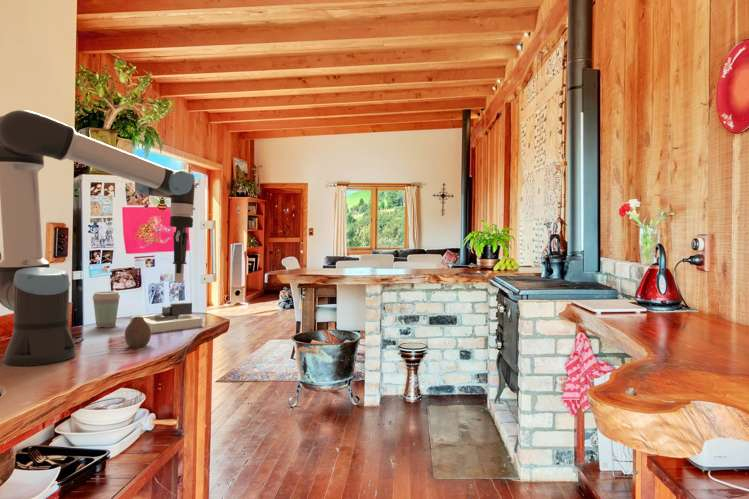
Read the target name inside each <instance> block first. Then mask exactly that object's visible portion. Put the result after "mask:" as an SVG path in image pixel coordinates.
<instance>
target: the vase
mask: <svg viewBox="0 0 749 499" xmlns="http://www.w3.org/2000/svg"><path fill="white" fill-rule="evenodd" d="M133 317H134V318H133V320H132V321H131V323H130V322H129V323H128V325H127V327H126V328H125V331H124V341H125V343H126V345H127V346H128V347H129V348H131V349H140V348H141V349H142V348H144V347H146V346H147V345H148V344H149V343H150V340H151V336H152V333H151V330H150V327H149V325H148V324H147V323H146V322H145V321H144V319H143V317H135V316H133Z"/></svg>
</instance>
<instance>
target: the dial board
mask: <svg viewBox="0 0 749 499" xmlns="http://www.w3.org/2000/svg"><path fill="white" fill-rule="evenodd" d="M158 314H159V313H157V314H156V313H155V314H146V315H138V316H130V317H129V318H130V319H129V320H130V321H129V324H130V323H131V321H132V320H133V318H134V317H143V319H144V321H145V322H146V323H147V324H148V325H149V327H150V330H151V334H155V333H162V332H168V331H177V330H185V329H192V328H199V326H201V327H203V317H199V316H196V315H192V314H187V315H178V319H174V320H168V321H160V322H156V321H154V316H155V315H158Z"/></svg>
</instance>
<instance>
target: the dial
mask: <svg viewBox="0 0 749 499" xmlns="http://www.w3.org/2000/svg"><path fill="white" fill-rule="evenodd" d="M157 314H158V315H155V316H154V321H156V322H160V321H168V320H174V319H178V315H187V314H190V315H192V314H193V303H192V302H175V303H174V302H173V303H170V304H169V306H162V307H161V313H157Z"/></svg>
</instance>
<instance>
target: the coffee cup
mask: <svg viewBox="0 0 749 499" xmlns="http://www.w3.org/2000/svg"><path fill="white" fill-rule="evenodd" d="M91 299H92V300H93V310H94V318H95V326H97V327H110V328H114V327H116V324H117V316H118V310H119V301H120V299H121V297H120V294H119V292H118V291H97V292H94V293H93V296H92V298H91ZM97 327H96V328H97Z"/></svg>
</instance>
